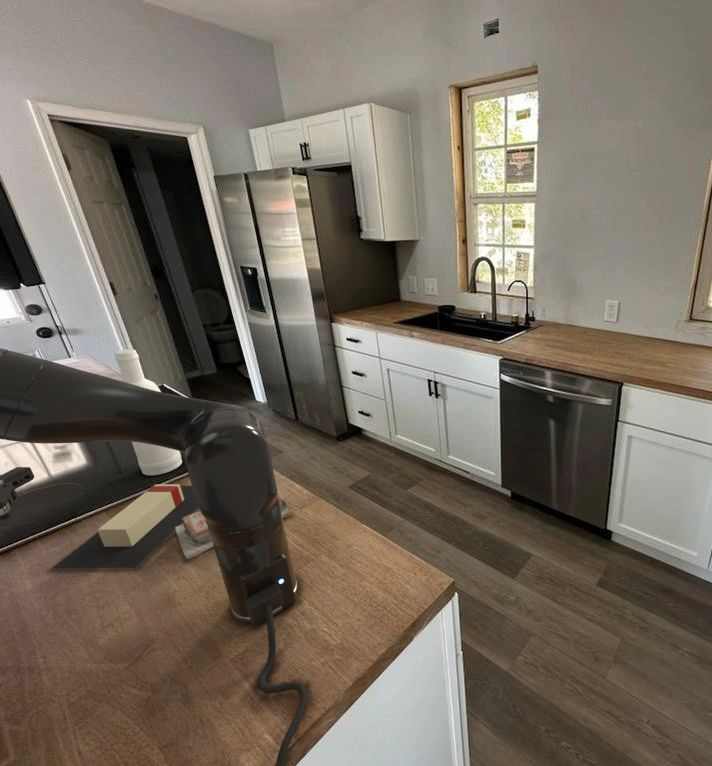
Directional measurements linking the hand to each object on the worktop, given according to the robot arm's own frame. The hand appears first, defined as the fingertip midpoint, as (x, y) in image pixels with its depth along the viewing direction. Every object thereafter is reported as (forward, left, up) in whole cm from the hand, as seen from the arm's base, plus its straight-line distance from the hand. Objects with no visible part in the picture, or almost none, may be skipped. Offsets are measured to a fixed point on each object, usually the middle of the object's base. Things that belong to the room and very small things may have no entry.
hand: (27, 472), depth 61 cm
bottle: (+34, -17, -22) cm, 44 cm away
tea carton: (+6, -6, -20) cm, 21 cm away
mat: (+11, -11, -22) cm, 27 cm away
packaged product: (-2, -23, -22) cm, 32 cm away
